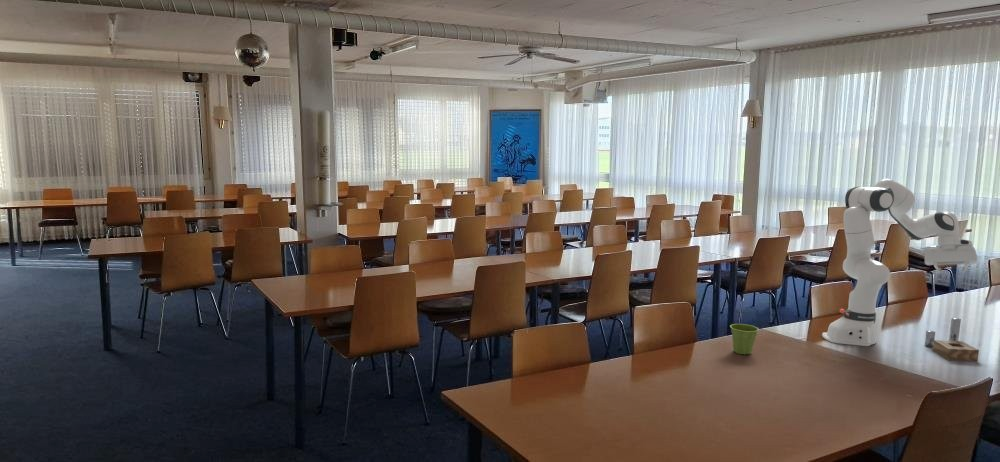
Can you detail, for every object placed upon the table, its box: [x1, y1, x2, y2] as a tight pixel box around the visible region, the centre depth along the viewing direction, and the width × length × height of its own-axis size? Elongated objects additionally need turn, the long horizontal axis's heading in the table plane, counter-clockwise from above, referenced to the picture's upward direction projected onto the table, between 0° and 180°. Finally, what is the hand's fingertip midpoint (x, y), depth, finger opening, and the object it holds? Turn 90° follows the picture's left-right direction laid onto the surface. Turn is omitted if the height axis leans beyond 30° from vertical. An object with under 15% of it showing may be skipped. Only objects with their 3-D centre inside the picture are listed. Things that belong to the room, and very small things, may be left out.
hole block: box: [932, 339, 980, 362], centre depth 286 cm, size 12×12×5 cm
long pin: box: [948, 317, 962, 341], centre depth 295 cm, size 4×4×14 cm
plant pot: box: [729, 323, 760, 355], centre depth 286 cm, size 12×12×11 cm
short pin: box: [924, 329, 936, 348], centre depth 299 cm, size 4×4×7 cm
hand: (951, 271), depth 301 cm, fingers open, 8 cm apart
